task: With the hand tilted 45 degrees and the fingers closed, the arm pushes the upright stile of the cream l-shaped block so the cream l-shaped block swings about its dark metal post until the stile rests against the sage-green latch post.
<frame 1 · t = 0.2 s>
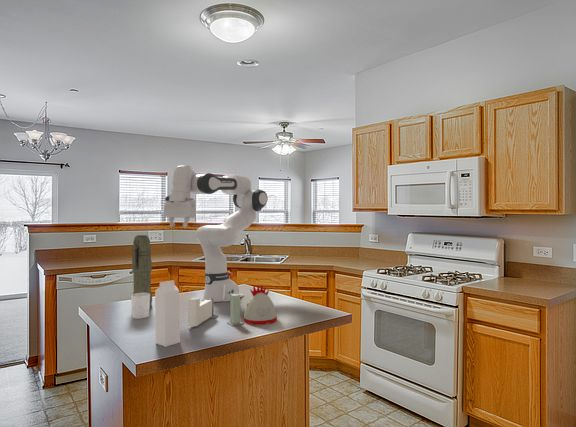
hand: (178, 226, 196), 39 cm above the countertop, fingers open, 8 cm apart
cream l-shaped block: (200, 308, 170), point 6 cm above the countertop, hinge at 0.0°
kitchen timer: (260, 320, 174), on the countertop
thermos: (142, 307, 198), on the countertop
latch post: (235, 323, 168), on the countertop
hinge post: (210, 317, 179), on the countertop
white cup: (140, 317, 181), on the countertop
milk: (167, 343, 145), on the countertop
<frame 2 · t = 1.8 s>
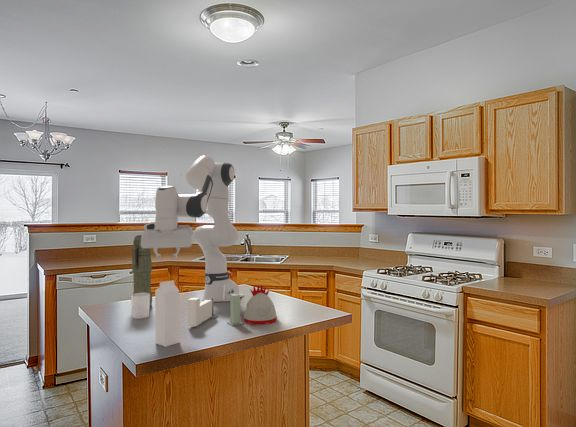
hand: (167, 258, 168), 27 cm above the countertop, fingers open, 5 cm apart
nothing on the countertop moved.
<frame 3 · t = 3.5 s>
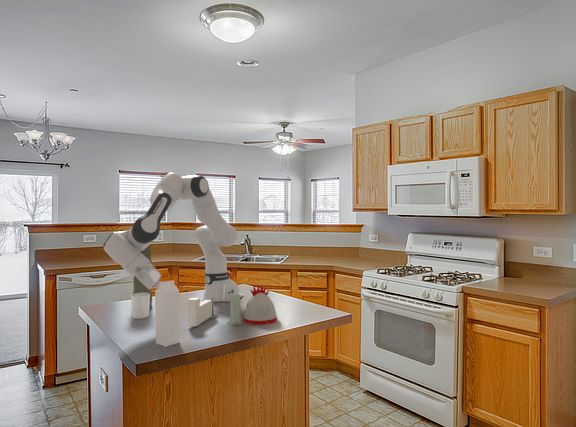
hand: (164, 290, 162), 15 cm above the countertop, fingers closed
nothing on the countertop moved.
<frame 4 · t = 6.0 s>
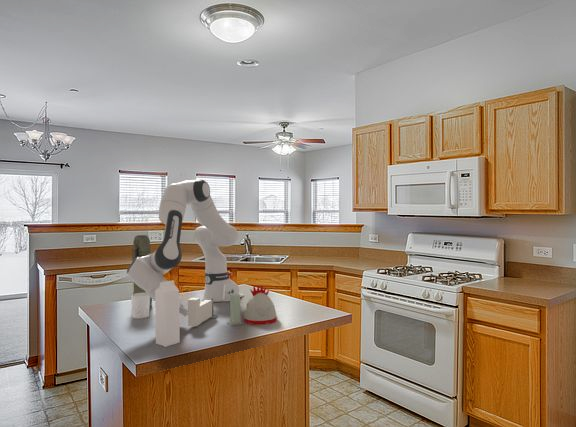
hand: (186, 314, 164), 5 cm above the countertop, fingers closed
cream l-shaped block: (200, 308, 170), point 6 cm above the countertop, hinge at 0.1°, touching gripper
everything else where it was.
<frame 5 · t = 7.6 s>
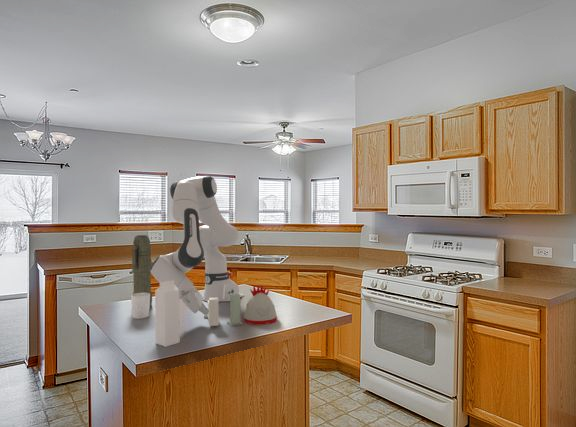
hand: (207, 313, 165), 5 cm above the countertop, fingers closed on cream l-shaped block, 2 cm apart
cream l-shaped block: (212, 308, 170), point 6 cm above the countertop, hinge at 28.6°, touching gripper
everything else where it was.
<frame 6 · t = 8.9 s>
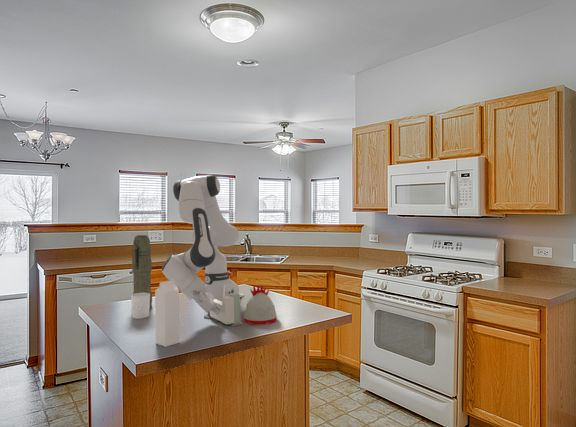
hand: (218, 312, 166), 5 cm above the countertop, fingers closed
cream l-shaped block: (221, 307, 171), point 6 cm above the countertop, hinge at 50.4°, touching gripper, latch post
everything else where it was.
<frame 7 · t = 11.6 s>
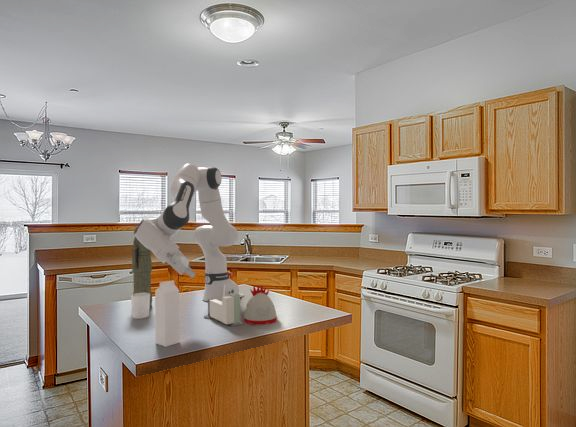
hand: (194, 276, 164), 21 cm above the countertop, fingers closed
cream l-shaped block: (221, 307, 171), point 6 cm above the countertop, hinge at 50.4°, touching latch post
everything else where it was.
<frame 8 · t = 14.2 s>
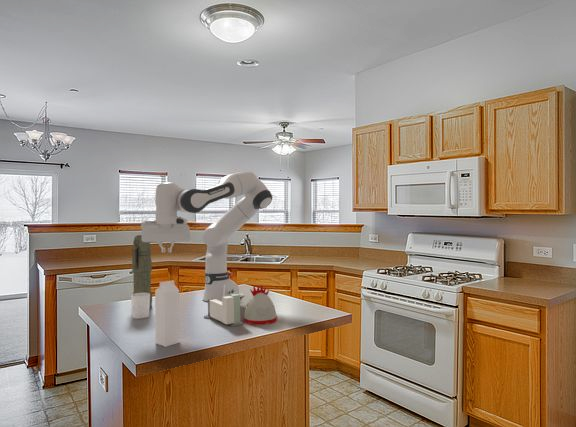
hand: (166, 252, 175), 29 cm above the countertop, fingers closed
nothing on the countertop moved.
at the end: cream l-shaped block at +50° (first picture: +0°); the gripper is holding nothing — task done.
